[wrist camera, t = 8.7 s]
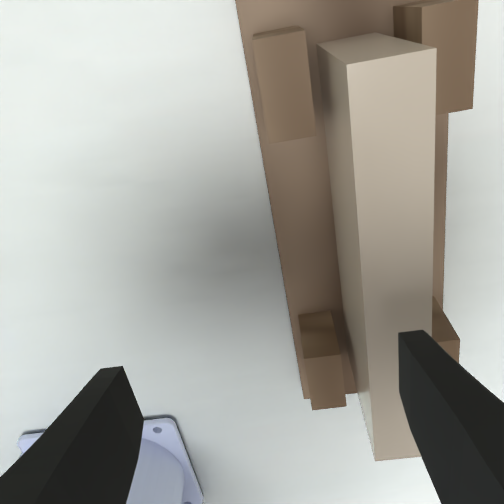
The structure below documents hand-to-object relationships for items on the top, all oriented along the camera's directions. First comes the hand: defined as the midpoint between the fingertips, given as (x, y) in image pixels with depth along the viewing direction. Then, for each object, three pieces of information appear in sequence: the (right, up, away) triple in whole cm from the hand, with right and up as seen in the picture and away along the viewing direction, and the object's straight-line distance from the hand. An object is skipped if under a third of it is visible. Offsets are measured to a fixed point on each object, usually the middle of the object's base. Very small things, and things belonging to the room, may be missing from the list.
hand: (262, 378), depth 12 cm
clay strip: (+4, +5, +7) cm, 9 cm away
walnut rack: (+4, +5, +8) cm, 10 cm away
